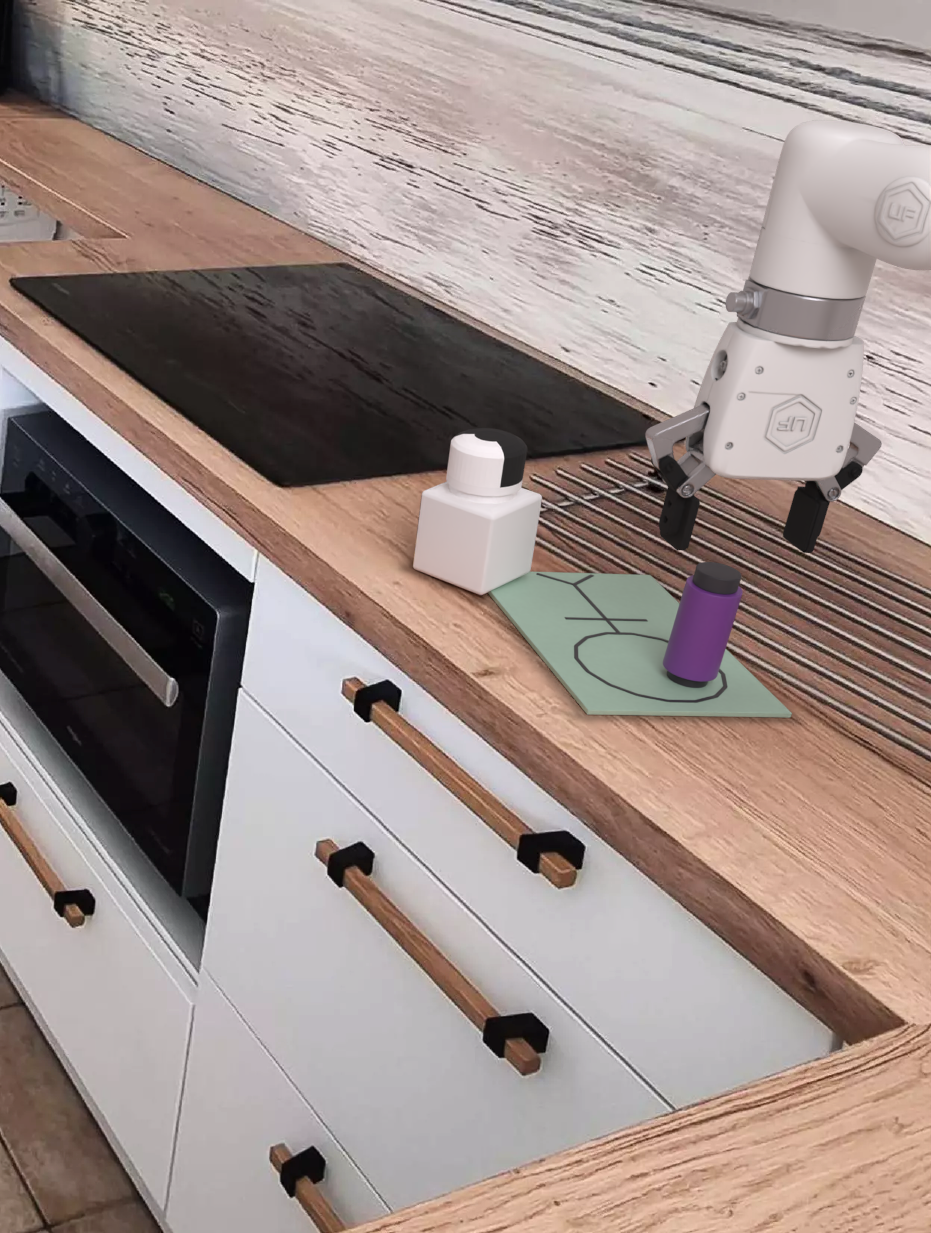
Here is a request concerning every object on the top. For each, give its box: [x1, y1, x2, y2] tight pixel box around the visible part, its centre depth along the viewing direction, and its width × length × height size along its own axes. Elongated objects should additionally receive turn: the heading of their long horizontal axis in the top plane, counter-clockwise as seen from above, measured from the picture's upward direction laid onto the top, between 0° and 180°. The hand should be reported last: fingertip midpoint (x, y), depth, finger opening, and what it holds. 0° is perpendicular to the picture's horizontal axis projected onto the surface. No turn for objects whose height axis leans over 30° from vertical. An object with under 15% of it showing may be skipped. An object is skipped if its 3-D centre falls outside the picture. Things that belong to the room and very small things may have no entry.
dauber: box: [663, 561, 744, 688], centre depth 131 cm, size 4×4×9 cm
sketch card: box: [486, 571, 793, 719], centre depth 139 cm, size 24×16×1 cm, turn 8°
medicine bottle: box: [412, 427, 543, 596], centre depth 145 cm, size 7×7×12 cm
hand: (735, 544), depth 127 cm, fingers open, 9 cm apart
